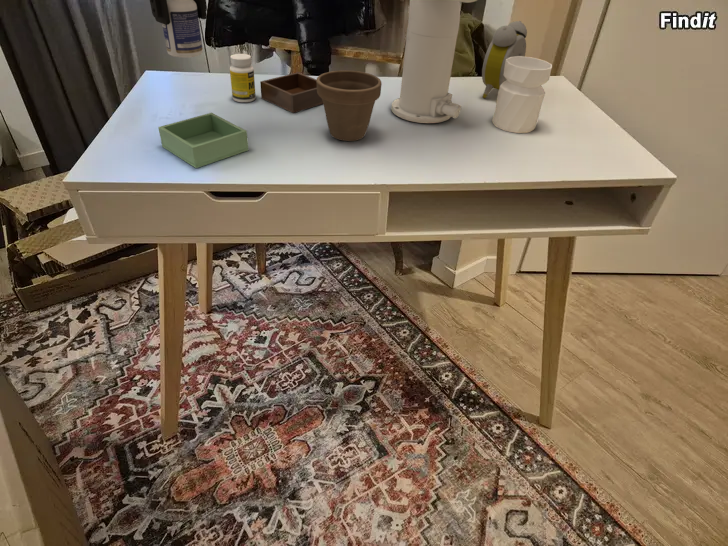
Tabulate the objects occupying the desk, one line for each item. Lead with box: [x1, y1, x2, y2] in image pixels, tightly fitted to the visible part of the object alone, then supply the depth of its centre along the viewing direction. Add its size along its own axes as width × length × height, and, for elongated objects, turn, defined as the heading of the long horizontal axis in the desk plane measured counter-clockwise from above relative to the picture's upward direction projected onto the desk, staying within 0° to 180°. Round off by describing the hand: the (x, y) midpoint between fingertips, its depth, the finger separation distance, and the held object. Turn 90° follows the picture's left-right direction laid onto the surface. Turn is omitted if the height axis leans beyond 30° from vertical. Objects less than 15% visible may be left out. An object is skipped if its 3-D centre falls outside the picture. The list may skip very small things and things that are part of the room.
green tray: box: [158, 112, 249, 169], centre depth 84 cm, size 10×10×4 cm
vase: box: [491, 56, 553, 134], centre depth 98 cm, size 9×9×12 cm
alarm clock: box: [481, 20, 528, 99], centre depth 110 cm, size 12×7×15 cm, turn 144°
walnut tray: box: [259, 71, 323, 114], centre depth 104 cm, size 10×10×4 cm
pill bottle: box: [161, 0, 204, 58], centre depth 76 cm, size 5×5×10 cm
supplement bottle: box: [229, 53, 256, 103], centre depth 101 cm, size 5×5×8 cm
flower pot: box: [316, 69, 382, 142], centre depth 90 cm, size 12×11×10 cm
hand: (181, 18), depth 76 cm, fingers closed on pill bottle, 5 cm apart
